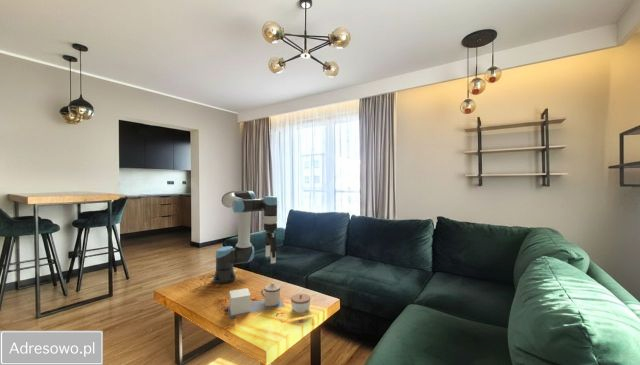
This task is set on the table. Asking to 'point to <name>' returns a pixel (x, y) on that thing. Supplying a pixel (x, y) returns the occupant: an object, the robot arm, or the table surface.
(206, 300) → the table surface
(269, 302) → the teacup with lid
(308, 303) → the lidded jar
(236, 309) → the block
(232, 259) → the robot arm
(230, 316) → the board
